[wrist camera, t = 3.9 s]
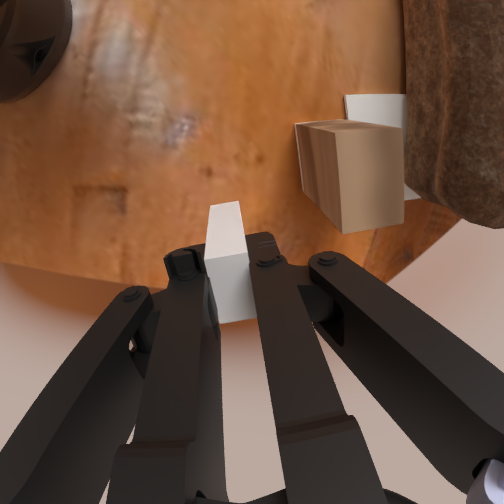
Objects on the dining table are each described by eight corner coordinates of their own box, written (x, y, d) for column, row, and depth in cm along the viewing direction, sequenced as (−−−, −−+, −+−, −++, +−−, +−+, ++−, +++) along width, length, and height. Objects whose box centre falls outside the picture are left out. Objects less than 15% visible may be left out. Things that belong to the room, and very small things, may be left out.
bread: (391, 196, 33) (485, 258, 18) (388, -61, 20) (464, -116, 5) (481, 201, 34) (568, 251, 20) (480, -21, 21) (563, -40, 6)
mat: (353, 206, 34) (355, 207, 33) (343, 95, 29) (345, 95, 28) (462, 190, 34) (465, 192, 34) (461, 96, 29) (464, 97, 28)
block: (302, 191, 33) (342, 234, 22) (294, 123, 30) (335, 132, 19) (347, 184, 33) (403, 223, 22) (341, 119, 30) (401, 128, 19)
